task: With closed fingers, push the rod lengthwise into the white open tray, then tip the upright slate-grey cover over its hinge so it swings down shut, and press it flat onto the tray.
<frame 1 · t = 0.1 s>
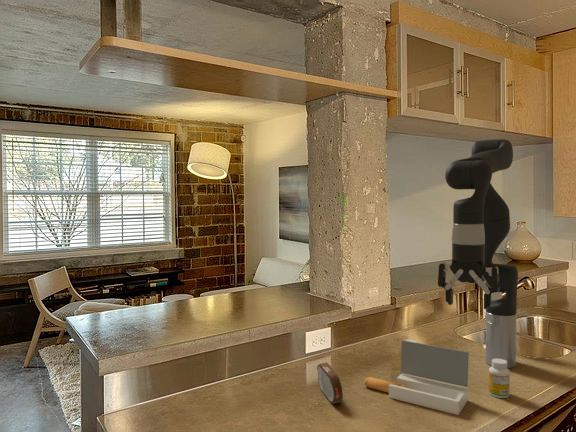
hand: (467, 306, 116), 29 cm above the countertop, fingers open, 8 cm apart
tin: (329, 397, 132), on the countertop
supplement bottle 2: (411, 366, 153), on the countertop
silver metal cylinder: (493, 348, 169), on the countertop
cover: (433, 362, 133), point 9 cm above the countertop, hinge at 95.0°
supplement bottle: (499, 395, 131), on the countertop
white open tray: (427, 398, 129), on the countertop
rod: (385, 391, 135), on the countertop
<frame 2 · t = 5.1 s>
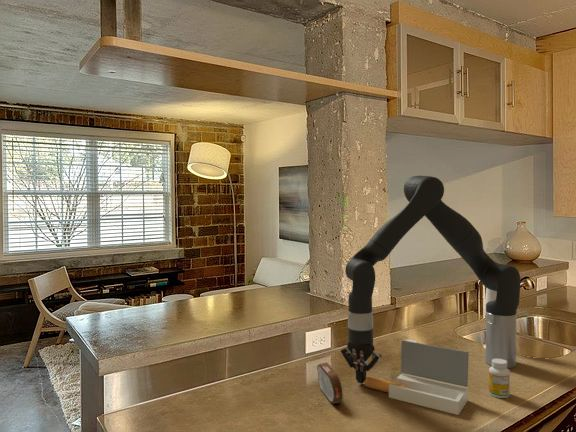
hand: (361, 382, 140), 1 cm above the countertop, fingers closed
rod: (385, 391, 135), on the countertop, touching gripper
everything else where it was.
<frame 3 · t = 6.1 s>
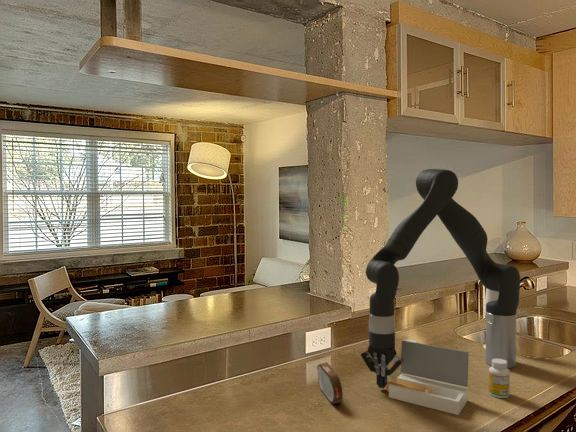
hand: (381, 387, 136), 1 cm above the countertop, fingers closed
rod: (407, 396, 131), resting in white open tray, touching gripper
everything else where it was.
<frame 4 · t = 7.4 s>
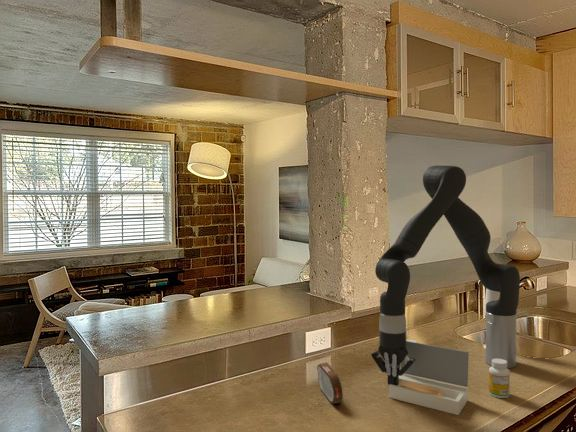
hand: (393, 387, 134), 2 cm above the countertop, fingers closed
rod: (420, 399, 129), resting in white open tray, tilted 8°
everything else where it was.
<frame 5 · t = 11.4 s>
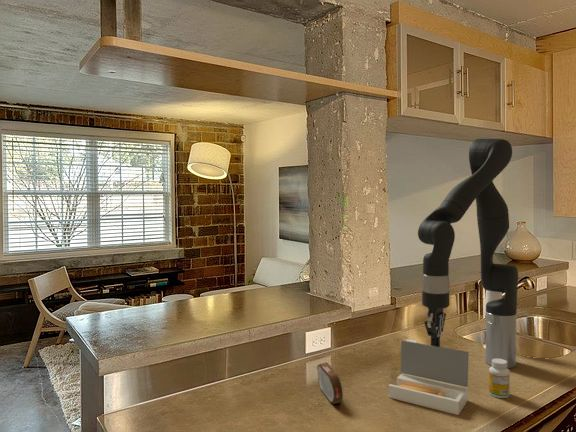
hand: (435, 348, 134), 12 cm above the countertop, fingers closed
cover: (433, 362, 133), point 9 cm above the countertop, hinge at 94.3°, touching gripper
rod: (420, 399, 129), resting in white open tray, tilted 15°
everything else where it was.
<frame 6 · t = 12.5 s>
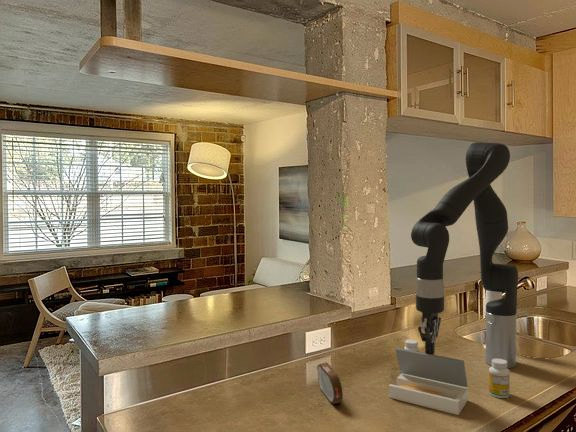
hand: (429, 354, 130), 12 cm above the countertop, fingers closed
cover: (430, 366, 131), point 8 cm above the countertop, hinge at 63.5°, touching gripper
rod: (420, 399, 129), resting in white open tray
everything else where it was.
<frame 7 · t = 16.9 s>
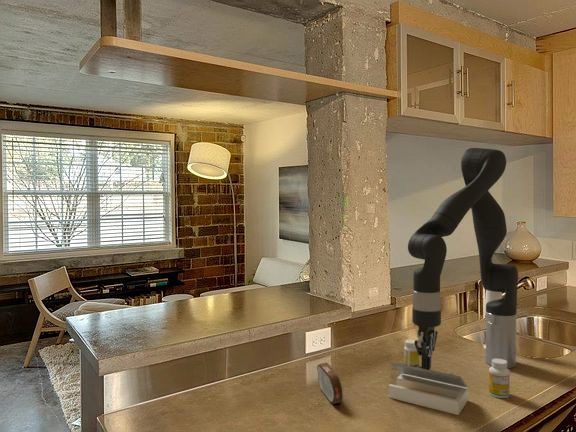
hand: (426, 368, 127), 9 cm above the countertop, fingers closed
cover: (428, 374, 130), point 7 cm above the countertop, hinge at 34.2°, touching gripper
rod: (420, 398, 129), resting in white open tray, tilted 34°
everything else where it was.
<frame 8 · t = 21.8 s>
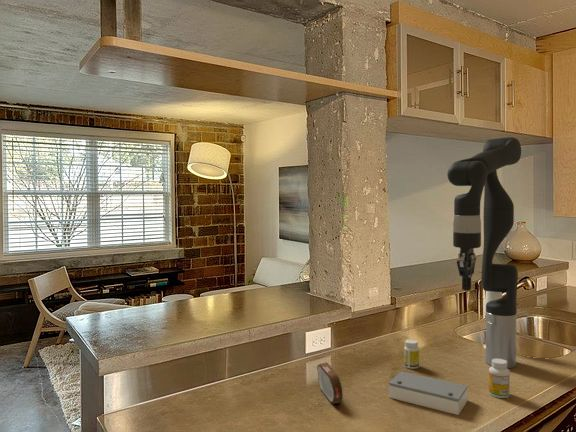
hand: (466, 289, 135), 29 cm above the countertop, fingers closed
cover: (427, 384, 129), point 4 cm above the countertop, hinge at -0.2°
rod: (420, 399, 129), resting in white open tray, tilted 6°
everything else where it was.
at the end: cover at +0° (first picture: +95°); rod 1.0 cm from the target spot on the white open tray, point 0.0 cm above the white open tray's base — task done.
